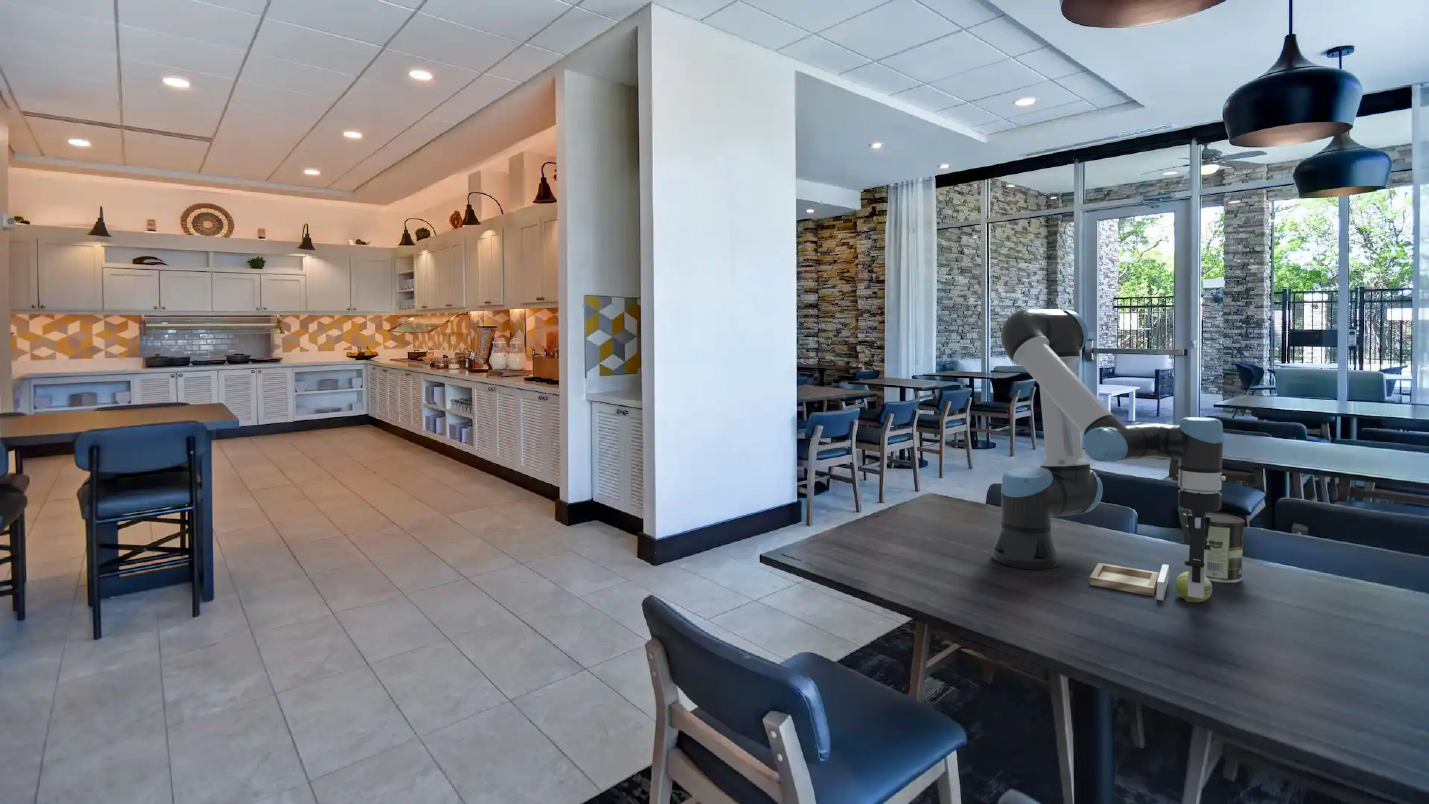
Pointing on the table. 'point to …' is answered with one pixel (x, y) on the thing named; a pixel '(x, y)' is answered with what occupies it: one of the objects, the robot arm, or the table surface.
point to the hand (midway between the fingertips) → (1197, 587)
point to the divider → (1162, 582)
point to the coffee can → (1225, 548)
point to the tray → (1124, 579)
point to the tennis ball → (1182, 588)
